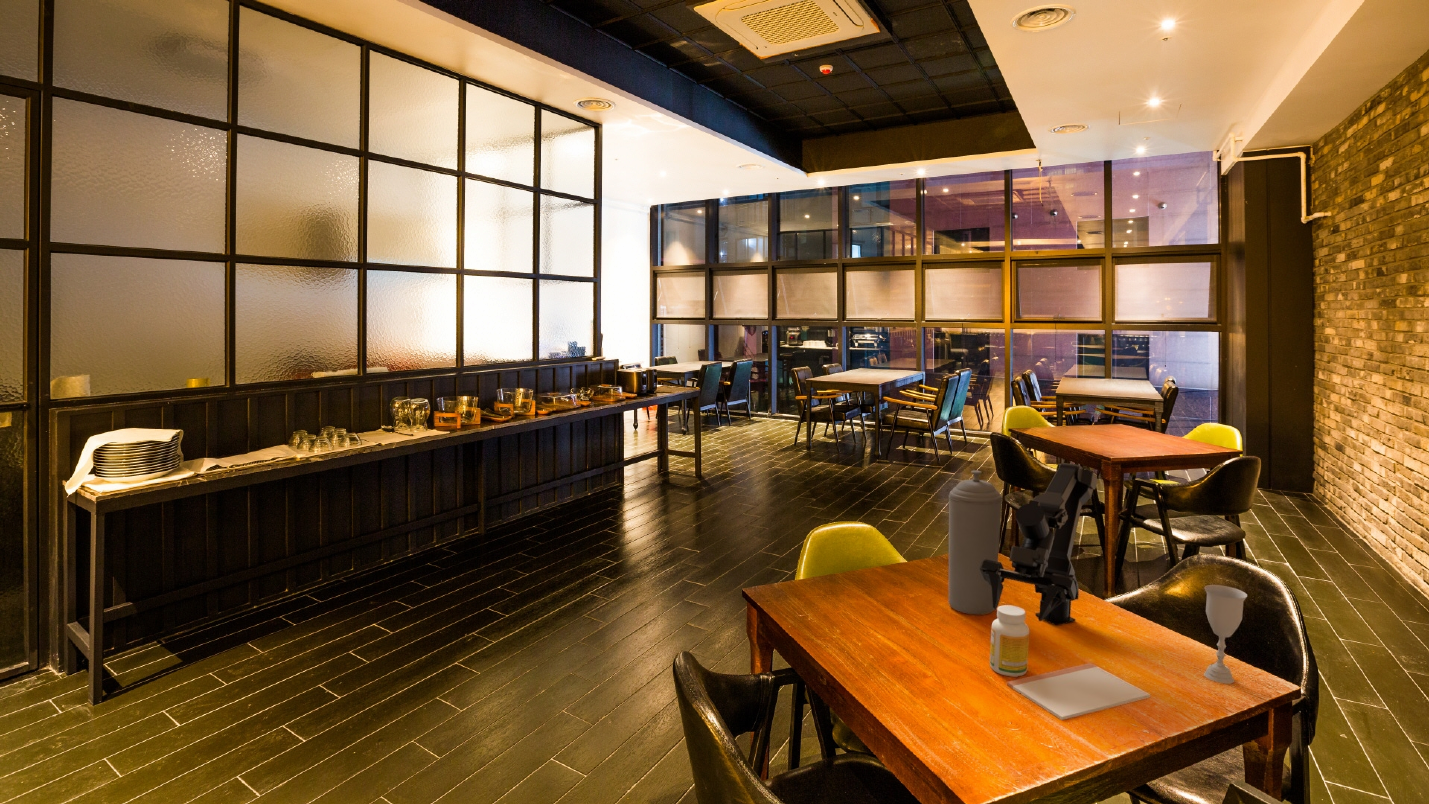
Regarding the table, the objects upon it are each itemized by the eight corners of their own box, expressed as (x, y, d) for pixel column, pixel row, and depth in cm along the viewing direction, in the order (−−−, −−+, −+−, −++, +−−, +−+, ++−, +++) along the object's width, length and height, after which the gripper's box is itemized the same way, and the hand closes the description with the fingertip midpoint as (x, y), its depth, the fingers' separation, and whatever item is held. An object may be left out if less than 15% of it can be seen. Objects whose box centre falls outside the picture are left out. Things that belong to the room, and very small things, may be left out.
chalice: (1189, 669, 149) (1195, 585, 147) (1220, 667, 149) (1226, 584, 147) (1217, 687, 142) (1223, 599, 140) (1249, 685, 142) (1256, 597, 140)
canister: (946, 615, 177) (951, 475, 173) (943, 596, 189) (947, 464, 185) (1002, 619, 174) (1007, 477, 170) (994, 600, 186) (1000, 467, 182)
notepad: (1090, 665, 151) (1090, 662, 150) (1149, 697, 138) (1150, 694, 138) (1006, 684, 143) (1006, 681, 143) (1061, 720, 130) (1061, 716, 130)
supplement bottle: (982, 665, 151) (984, 606, 150) (1007, 658, 154) (1009, 600, 153) (1009, 681, 145) (1012, 619, 143) (1035, 673, 148) (1037, 613, 146)
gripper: (984, 523, 159) (963, 585, 152) (1075, 539, 147) (1057, 607, 140) (995, 549, 166) (975, 610, 159) (1083, 567, 154) (1066, 633, 147)
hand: (1016, 614), depth 151 cm, fingers open, 9 cm apart
